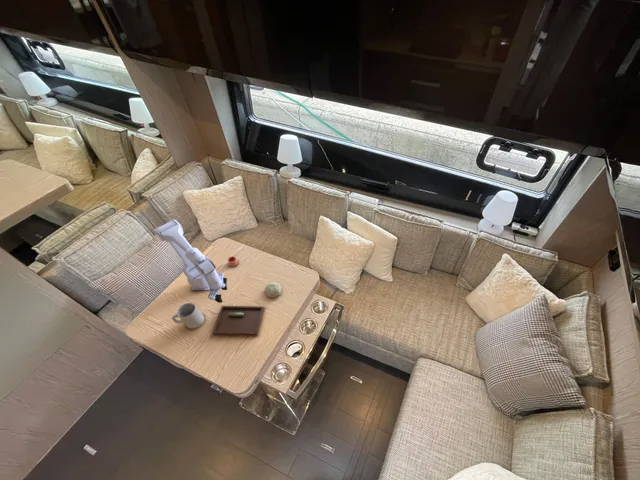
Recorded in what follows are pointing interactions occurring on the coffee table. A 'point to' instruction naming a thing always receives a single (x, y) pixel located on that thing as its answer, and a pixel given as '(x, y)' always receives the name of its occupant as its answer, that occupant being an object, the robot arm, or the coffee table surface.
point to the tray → (238, 321)
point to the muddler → (236, 314)
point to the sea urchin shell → (273, 289)
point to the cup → (232, 261)
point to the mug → (189, 315)
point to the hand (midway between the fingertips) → (222, 295)
